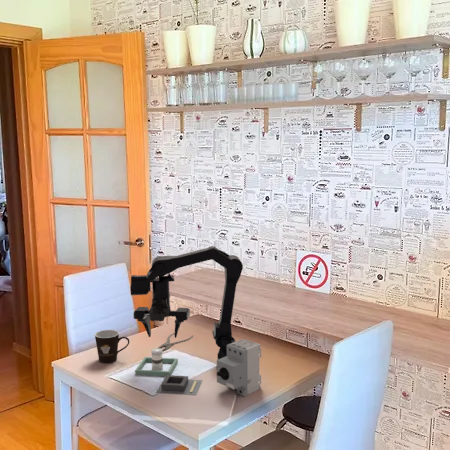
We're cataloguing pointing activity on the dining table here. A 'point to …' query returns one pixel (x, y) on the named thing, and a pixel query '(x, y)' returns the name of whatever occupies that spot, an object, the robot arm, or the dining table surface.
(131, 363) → the dining table surface
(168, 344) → the pliers
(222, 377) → the circuit breaker
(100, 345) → the coffee mug
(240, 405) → the dining table surface
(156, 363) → the white banded cylinder
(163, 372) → the parts tray
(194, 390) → the board
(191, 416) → the dining table surface
